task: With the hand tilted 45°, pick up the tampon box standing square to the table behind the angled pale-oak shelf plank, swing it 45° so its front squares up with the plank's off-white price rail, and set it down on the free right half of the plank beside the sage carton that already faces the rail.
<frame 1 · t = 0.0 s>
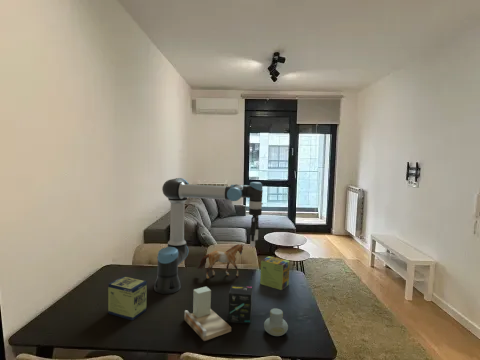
hand: (254, 243, 181), 28 cm above the table, tool pointing down, fingers open, 13 cm apart
horse figurine: (219, 275, 202), on the table
shelf: (207, 325, 142), on the table
protein box: (274, 284, 190), on the table
sage carton: (201, 313, 148), point 2 cm above the table, touching shelf
protein box 2: (127, 312, 151), on the table
tampon box: (240, 318, 149), on the table
air freshener: (275, 332, 138), on the table
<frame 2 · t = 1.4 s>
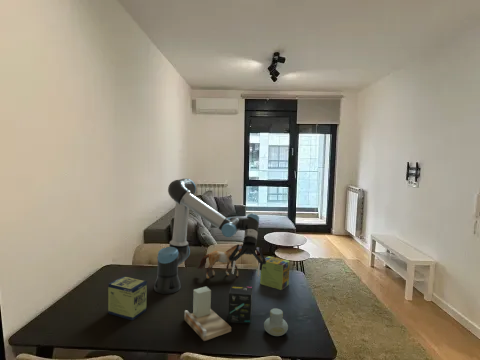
hand: (245, 274, 158), 18 cm above the table, tool tilted 45°, fingers open, 13 cm apart
nothing on the table moved.
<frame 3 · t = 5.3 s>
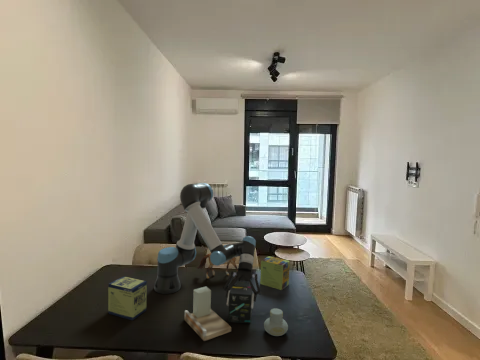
hand: (239, 306, 146), 7 cm above the table, tool tilted 45°, fingers closed on tampon box, 11 cm apart
tampon box: (240, 318, 149), on the table, touching gripper
everything else where it was.
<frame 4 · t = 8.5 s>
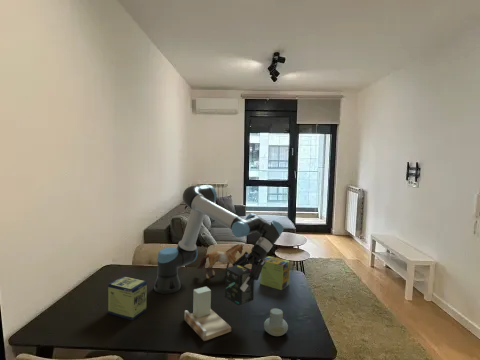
hand: (234, 285, 142), 19 cm above the table, tool tilted 45°, fingers closed on tampon box, 11 cm apart
tampon box: (239, 299, 144), point 12 cm above the table, touching gripper
everything else where it was.
when the fingers open (11 cm above the table, at t = 12.0 s): tampon box drops 1 cm, resting on shelf.
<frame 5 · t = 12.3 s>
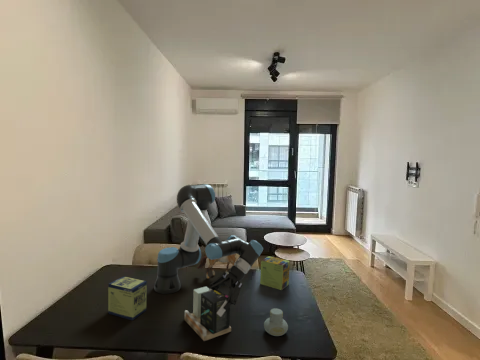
hand: (210, 308, 136), 11 cm above the table, tool tilted 45°, fingers open, 13 cm apart
tampon box: (214, 326, 138), point 2 cm above the table, touching shelf
everything else where it was.
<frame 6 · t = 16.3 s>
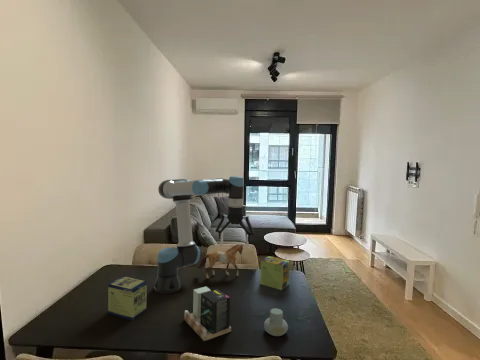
hand: (234, 246, 157), 33 cm above the table, tool pointing down, fingers open, 13 cm apart
nothing on the table moved.
at the end: tampon box inside the target area (0.4 cm from its centre), point 1.8 cm above the table; tampon box tilted 0°; tampon box touching shelf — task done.
